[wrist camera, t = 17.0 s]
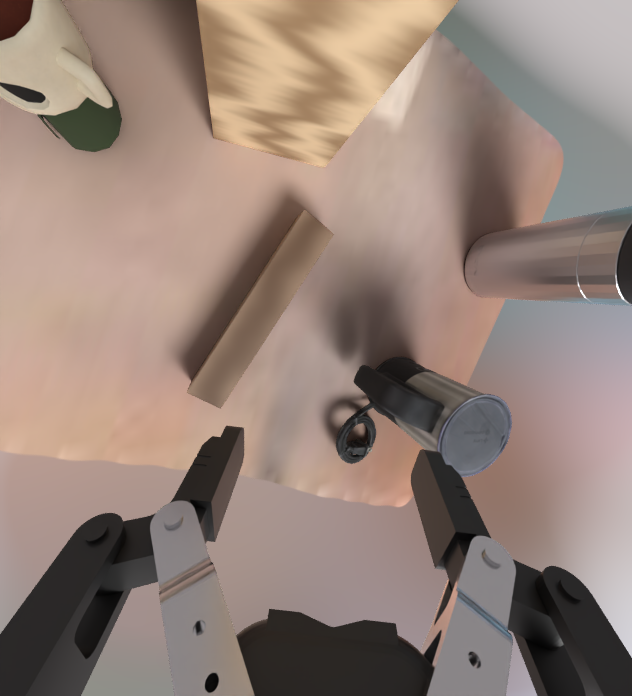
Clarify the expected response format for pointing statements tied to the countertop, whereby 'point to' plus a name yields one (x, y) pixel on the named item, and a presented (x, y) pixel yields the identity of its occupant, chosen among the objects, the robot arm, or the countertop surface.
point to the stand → (305, 67)
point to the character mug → (54, 73)
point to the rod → (260, 310)
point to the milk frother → (430, 415)
